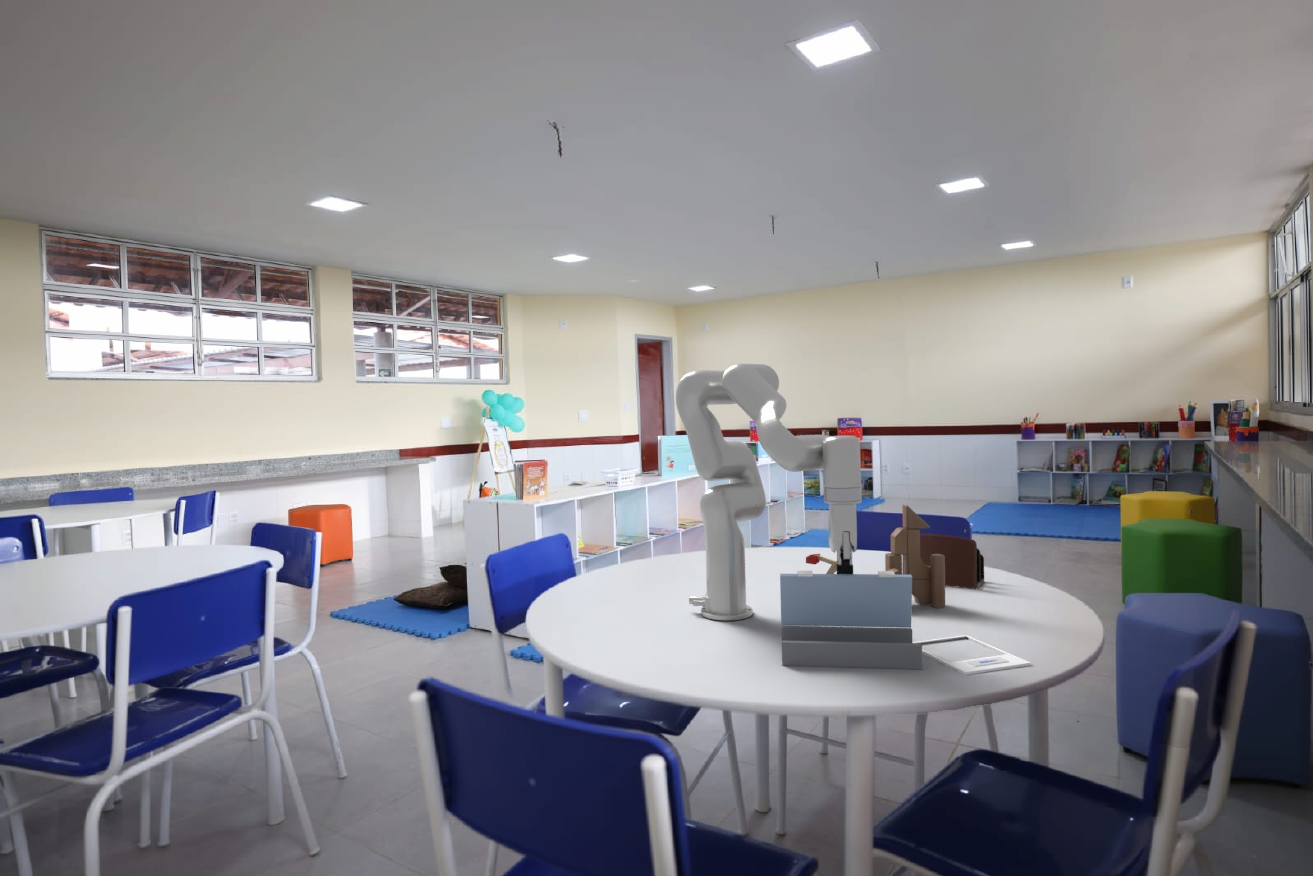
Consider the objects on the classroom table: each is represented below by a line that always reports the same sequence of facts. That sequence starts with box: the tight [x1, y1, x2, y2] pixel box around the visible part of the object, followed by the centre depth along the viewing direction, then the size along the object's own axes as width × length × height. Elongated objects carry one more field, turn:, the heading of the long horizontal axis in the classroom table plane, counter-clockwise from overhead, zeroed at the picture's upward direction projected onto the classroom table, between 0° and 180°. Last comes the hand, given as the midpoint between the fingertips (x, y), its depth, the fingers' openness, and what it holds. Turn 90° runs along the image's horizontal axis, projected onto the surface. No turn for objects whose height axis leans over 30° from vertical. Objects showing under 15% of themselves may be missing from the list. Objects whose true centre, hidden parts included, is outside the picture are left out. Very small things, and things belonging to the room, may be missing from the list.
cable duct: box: [780, 625, 923, 670], centre depth 144 cm, size 26×11×4 cm, turn 81°
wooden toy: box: [884, 504, 946, 609], centre depth 180 cm, size 16×7×25 cm, turn 94°
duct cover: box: [779, 570, 913, 629], centre depth 149 cm, size 26×12×2 cm
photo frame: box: [912, 634, 1032, 676], centre depth 144 cm, size 15×1×18 cm
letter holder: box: [902, 533, 985, 590], centre depth 204 cm, size 10×20×14 cm, turn 54°
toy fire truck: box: [805, 553, 837, 574], centre depth 197 cm, size 3×14×10 cm, turn 58°
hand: (845, 583), depth 151 cm, fingers closed
